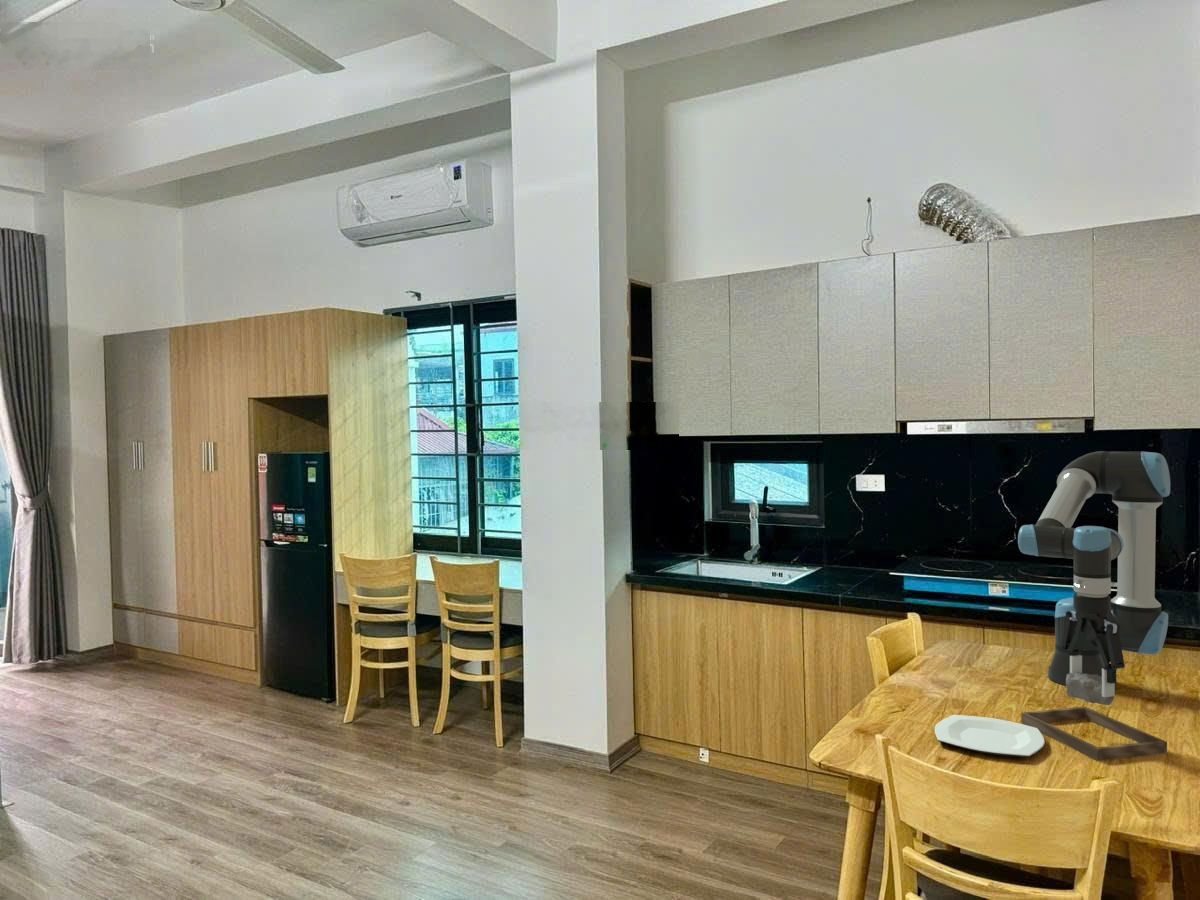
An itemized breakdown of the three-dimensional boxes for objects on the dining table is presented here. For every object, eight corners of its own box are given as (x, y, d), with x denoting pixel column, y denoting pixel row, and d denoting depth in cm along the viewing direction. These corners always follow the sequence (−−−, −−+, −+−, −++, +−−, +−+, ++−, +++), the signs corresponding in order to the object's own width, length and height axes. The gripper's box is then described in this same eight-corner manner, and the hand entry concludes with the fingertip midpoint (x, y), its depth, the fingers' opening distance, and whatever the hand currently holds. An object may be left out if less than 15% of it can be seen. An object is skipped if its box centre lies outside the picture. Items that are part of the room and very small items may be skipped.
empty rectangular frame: (1084, 716, 214) (1084, 706, 214) (1166, 753, 191) (1167, 741, 191) (1021, 722, 211) (1021, 712, 210) (1097, 760, 187) (1097, 749, 187)
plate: (1039, 769, 184) (1039, 760, 184) (925, 749, 196) (925, 740, 196) (1048, 735, 203) (1048, 726, 203) (944, 718, 215) (944, 710, 215)
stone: (1115, 708, 195) (1114, 683, 195) (1065, 703, 200) (1065, 678, 200) (1114, 697, 202) (1113, 672, 202) (1066, 692, 207) (1065, 668, 207)
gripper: (1044, 585, 209) (1044, 676, 211) (1115, 605, 188) (1115, 706, 189) (1070, 583, 211) (1070, 673, 212) (1144, 602, 189) (1144, 703, 191)
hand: (1091, 689), depth 201 cm, fingers closed on stone, 9 cm apart
